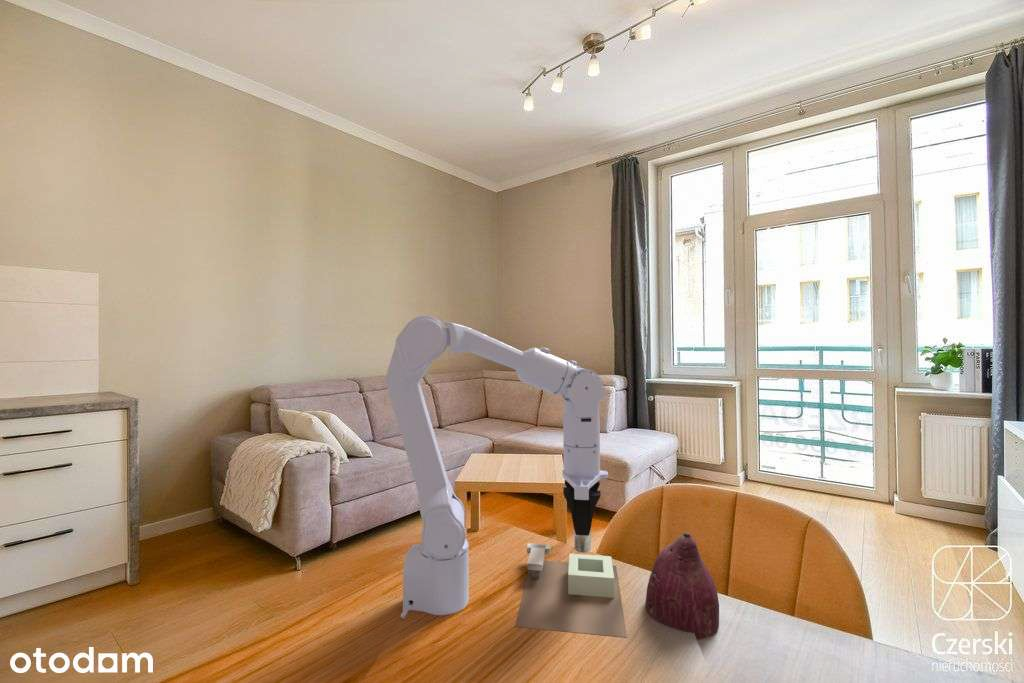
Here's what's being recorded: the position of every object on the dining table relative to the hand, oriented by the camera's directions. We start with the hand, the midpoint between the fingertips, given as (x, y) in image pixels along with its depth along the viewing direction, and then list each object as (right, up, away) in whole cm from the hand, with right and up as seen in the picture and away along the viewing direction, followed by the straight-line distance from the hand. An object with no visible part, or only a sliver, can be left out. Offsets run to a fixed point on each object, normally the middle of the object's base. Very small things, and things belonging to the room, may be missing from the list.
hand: (582, 530), depth 69 cm
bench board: (-2, -11, -1) cm, 11 cm away
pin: (0, -3, 0) cm, 3 cm away
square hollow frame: (+2, -11, +2) cm, 11 cm away
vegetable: (+14, -11, -5) cm, 18 cm away
